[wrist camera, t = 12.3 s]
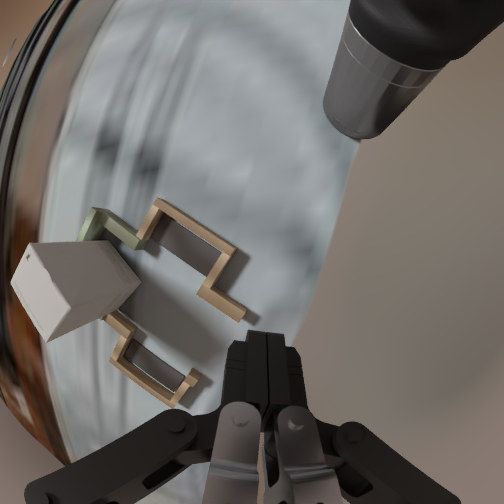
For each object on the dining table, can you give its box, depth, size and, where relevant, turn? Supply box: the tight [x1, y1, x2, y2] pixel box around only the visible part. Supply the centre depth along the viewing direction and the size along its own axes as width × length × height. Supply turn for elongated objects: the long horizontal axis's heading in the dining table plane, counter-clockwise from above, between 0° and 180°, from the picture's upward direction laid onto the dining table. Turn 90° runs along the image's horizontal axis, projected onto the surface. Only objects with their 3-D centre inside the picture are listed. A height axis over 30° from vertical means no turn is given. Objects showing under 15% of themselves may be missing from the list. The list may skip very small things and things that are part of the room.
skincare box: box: [11, 240, 142, 343], centre depth 28 cm, size 8×7×16 cm
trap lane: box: [76, 198, 248, 409], centre depth 33 cm, size 24×24×4 cm
